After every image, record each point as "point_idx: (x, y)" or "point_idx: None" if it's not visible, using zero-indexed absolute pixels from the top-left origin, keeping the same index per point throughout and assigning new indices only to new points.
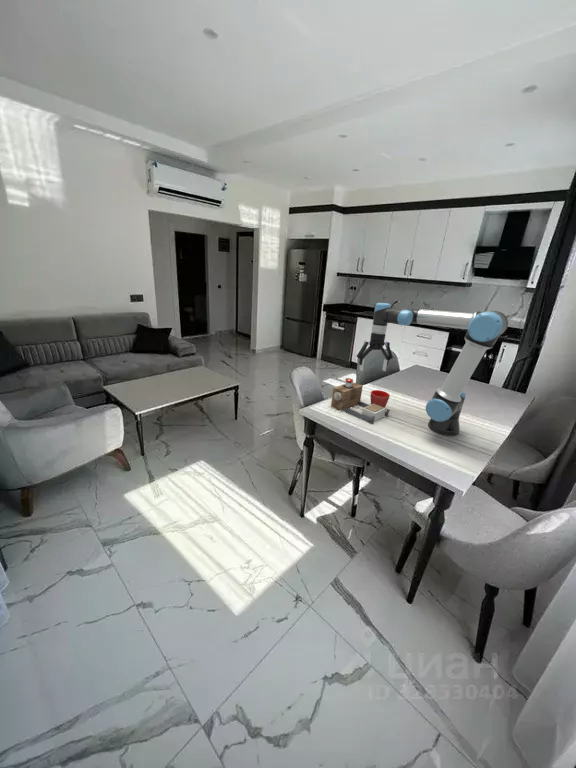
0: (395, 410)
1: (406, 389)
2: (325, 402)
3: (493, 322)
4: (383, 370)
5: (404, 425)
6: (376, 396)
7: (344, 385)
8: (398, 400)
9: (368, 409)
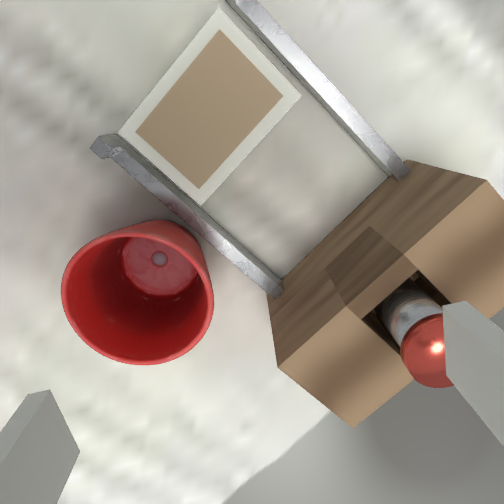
0: (48, 251)
1: None
2: None
3: None
4: (62, 421)
5: (9, 20)
6: (176, 243)
7: None
8: (15, 398)
9: (261, 74)
